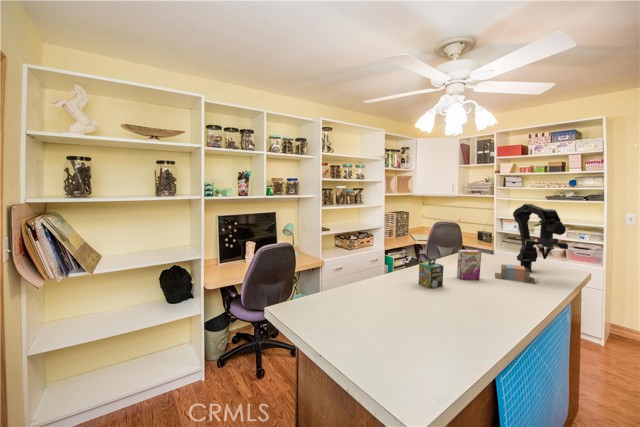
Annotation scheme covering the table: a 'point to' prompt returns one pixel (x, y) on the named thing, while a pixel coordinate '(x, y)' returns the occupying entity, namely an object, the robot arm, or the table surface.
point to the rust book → (520, 273)
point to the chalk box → (431, 274)
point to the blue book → (510, 272)
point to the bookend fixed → (502, 274)
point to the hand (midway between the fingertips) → (544, 258)
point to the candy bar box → (469, 264)
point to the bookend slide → (528, 277)
